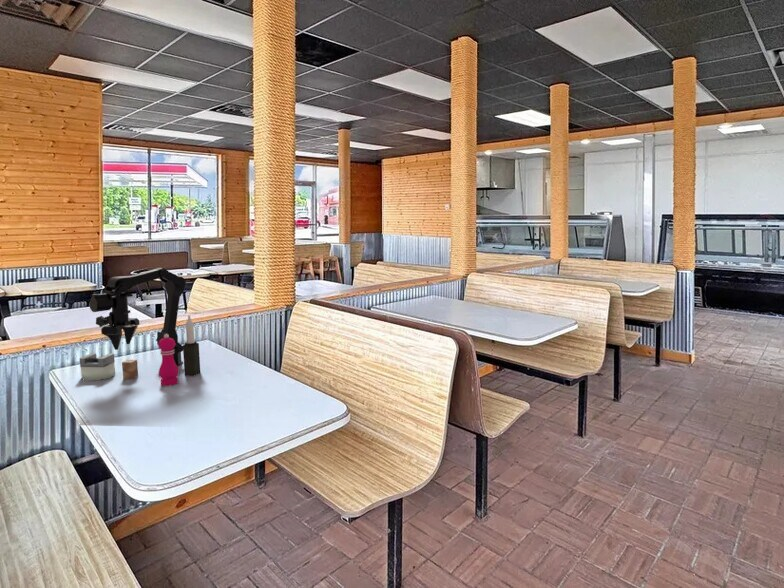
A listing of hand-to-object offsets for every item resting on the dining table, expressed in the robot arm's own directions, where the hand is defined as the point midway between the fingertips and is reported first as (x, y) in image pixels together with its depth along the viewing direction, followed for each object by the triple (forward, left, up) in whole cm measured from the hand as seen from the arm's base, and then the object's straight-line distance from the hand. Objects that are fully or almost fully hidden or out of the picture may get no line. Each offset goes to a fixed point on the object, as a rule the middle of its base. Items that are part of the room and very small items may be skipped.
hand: (122, 346), depth 202 cm
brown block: (-2, -1, -13) cm, 13 cm away
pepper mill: (-21, +5, -13) cm, 25 cm away
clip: (+12, -2, -8) cm, 15 cm away
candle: (-25, -7, -13) cm, 29 cm away
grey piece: (+12, -2, -13) cm, 18 cm away
